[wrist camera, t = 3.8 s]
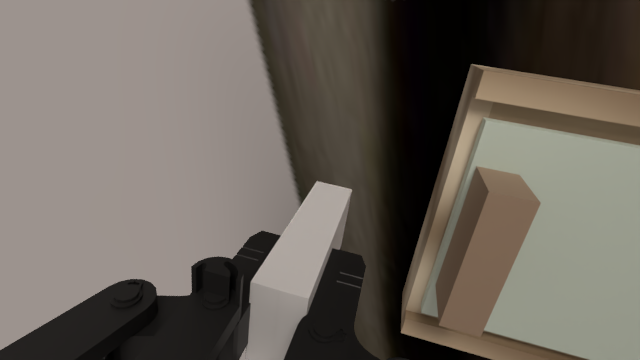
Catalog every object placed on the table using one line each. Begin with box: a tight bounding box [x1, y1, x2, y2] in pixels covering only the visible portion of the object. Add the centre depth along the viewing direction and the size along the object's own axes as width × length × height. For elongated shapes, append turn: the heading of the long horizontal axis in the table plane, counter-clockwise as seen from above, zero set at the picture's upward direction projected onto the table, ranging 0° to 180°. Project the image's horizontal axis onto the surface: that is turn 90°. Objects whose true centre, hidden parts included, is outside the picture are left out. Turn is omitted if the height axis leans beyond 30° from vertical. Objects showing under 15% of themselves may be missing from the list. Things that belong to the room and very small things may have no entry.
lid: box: [421, 117, 640, 360], centre depth 13 cm, size 10×11×3 cm
